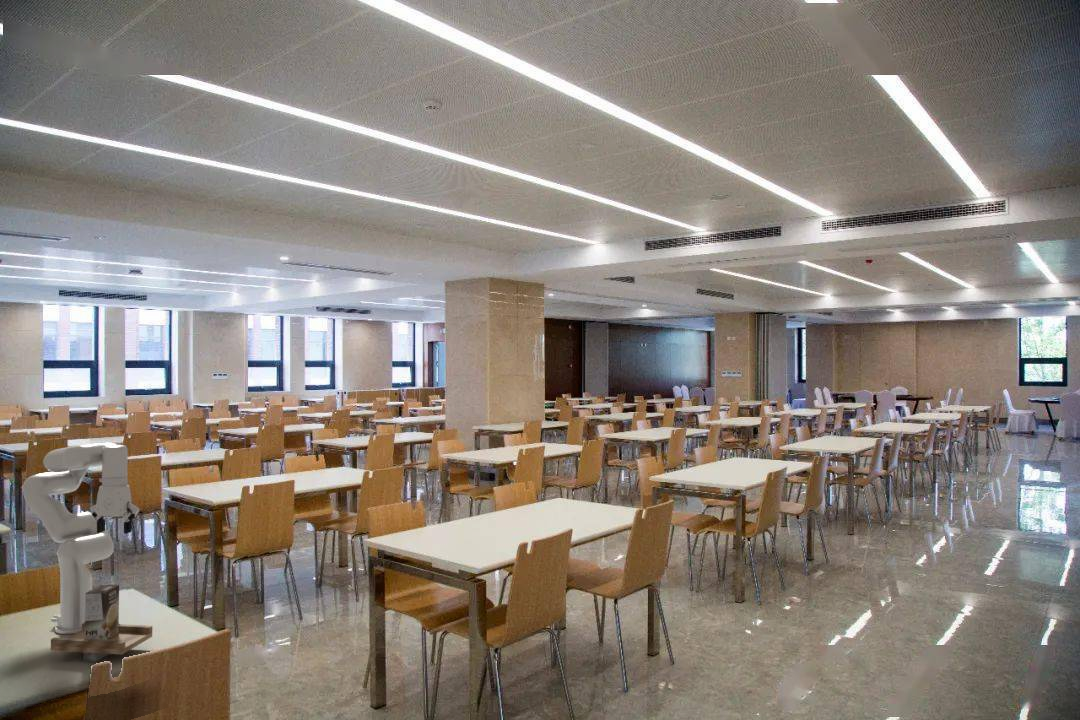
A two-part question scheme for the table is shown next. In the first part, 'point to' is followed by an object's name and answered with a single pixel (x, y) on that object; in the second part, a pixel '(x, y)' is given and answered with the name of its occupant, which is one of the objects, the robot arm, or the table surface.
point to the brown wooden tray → (103, 642)
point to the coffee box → (102, 612)
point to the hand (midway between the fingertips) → (114, 532)
